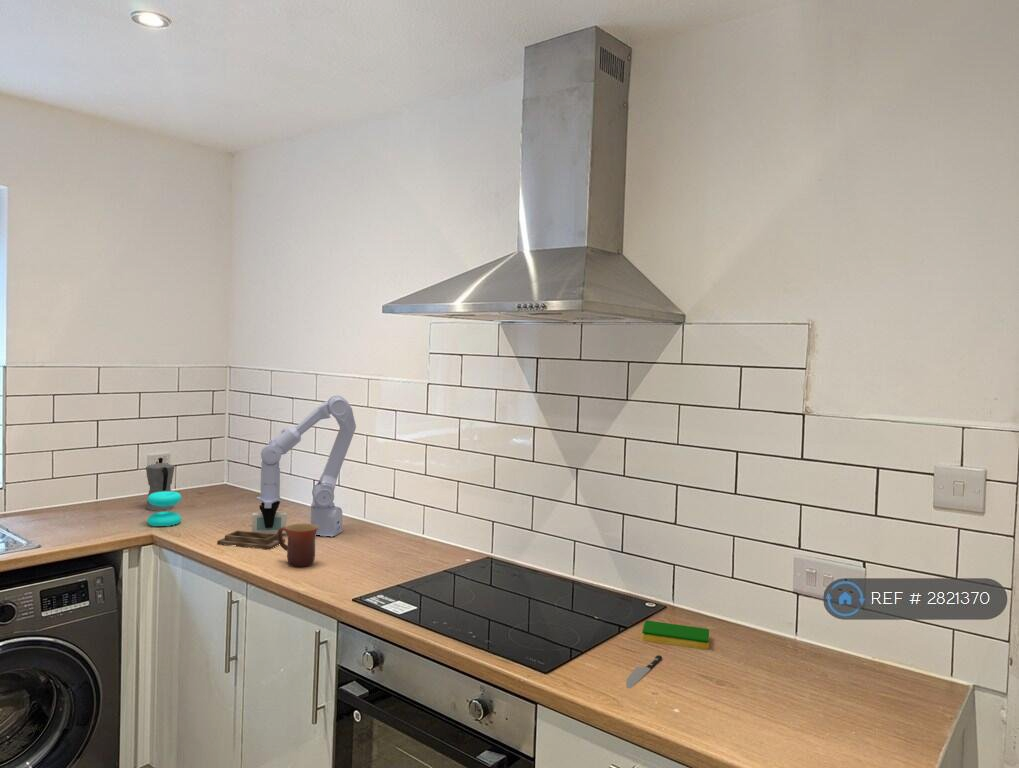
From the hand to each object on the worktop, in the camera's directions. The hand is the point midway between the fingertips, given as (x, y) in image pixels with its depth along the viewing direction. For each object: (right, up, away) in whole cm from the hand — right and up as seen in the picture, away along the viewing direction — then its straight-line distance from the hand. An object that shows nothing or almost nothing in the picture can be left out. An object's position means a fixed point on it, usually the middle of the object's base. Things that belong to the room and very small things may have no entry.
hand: (269, 526), depth 233 cm
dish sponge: (+111, -11, -71) cm, 133 cm away
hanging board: (-2, -3, -10) cm, 10 cm away
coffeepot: (-48, 0, +30) cm, 56 cm away
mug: (+16, -5, -28) cm, 33 cm away
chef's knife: (+100, -12, -89) cm, 135 cm away
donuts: (-37, -1, +9) cm, 38 cm away
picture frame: (0, -2, 0) cm, 2 cm away
